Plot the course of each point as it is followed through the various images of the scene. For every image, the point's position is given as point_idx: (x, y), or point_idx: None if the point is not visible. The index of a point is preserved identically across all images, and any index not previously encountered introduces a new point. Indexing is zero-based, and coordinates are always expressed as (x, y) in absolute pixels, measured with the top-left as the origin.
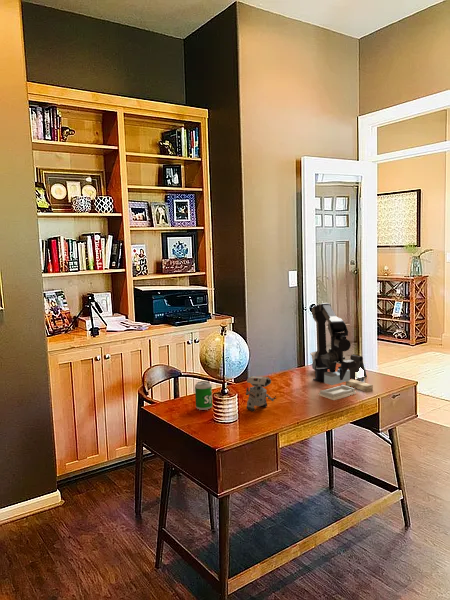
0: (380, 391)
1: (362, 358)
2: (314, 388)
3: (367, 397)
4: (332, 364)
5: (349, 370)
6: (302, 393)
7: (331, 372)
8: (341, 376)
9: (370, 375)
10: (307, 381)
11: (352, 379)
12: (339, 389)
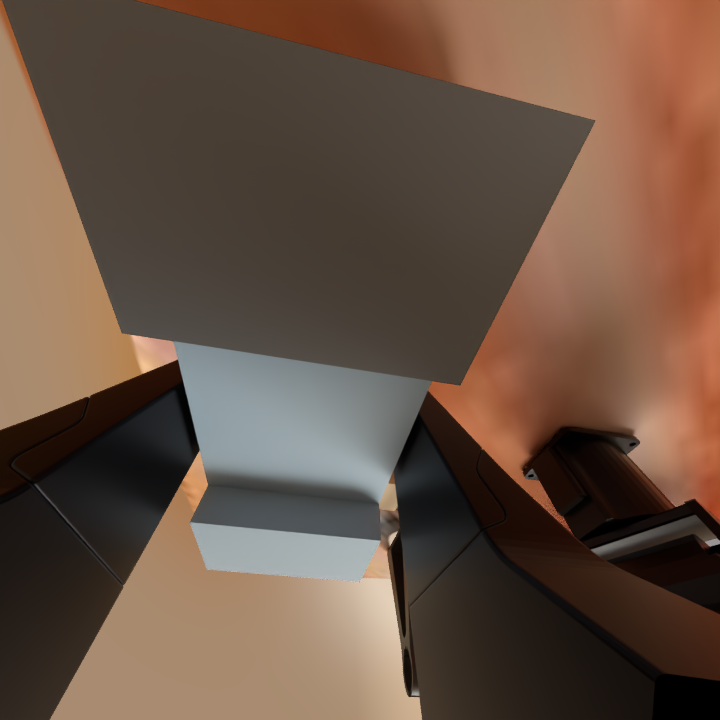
0: (202, 466)
1: (404, 673)
2: (584, 302)
3: (144, 360)
4: (478, 683)
5: (205, 564)
6: (711, 33)
7: (334, 340)
8: (159, 374)
9: (384, 563)
10: (674, 401)
11: (382, 506)
12: None
